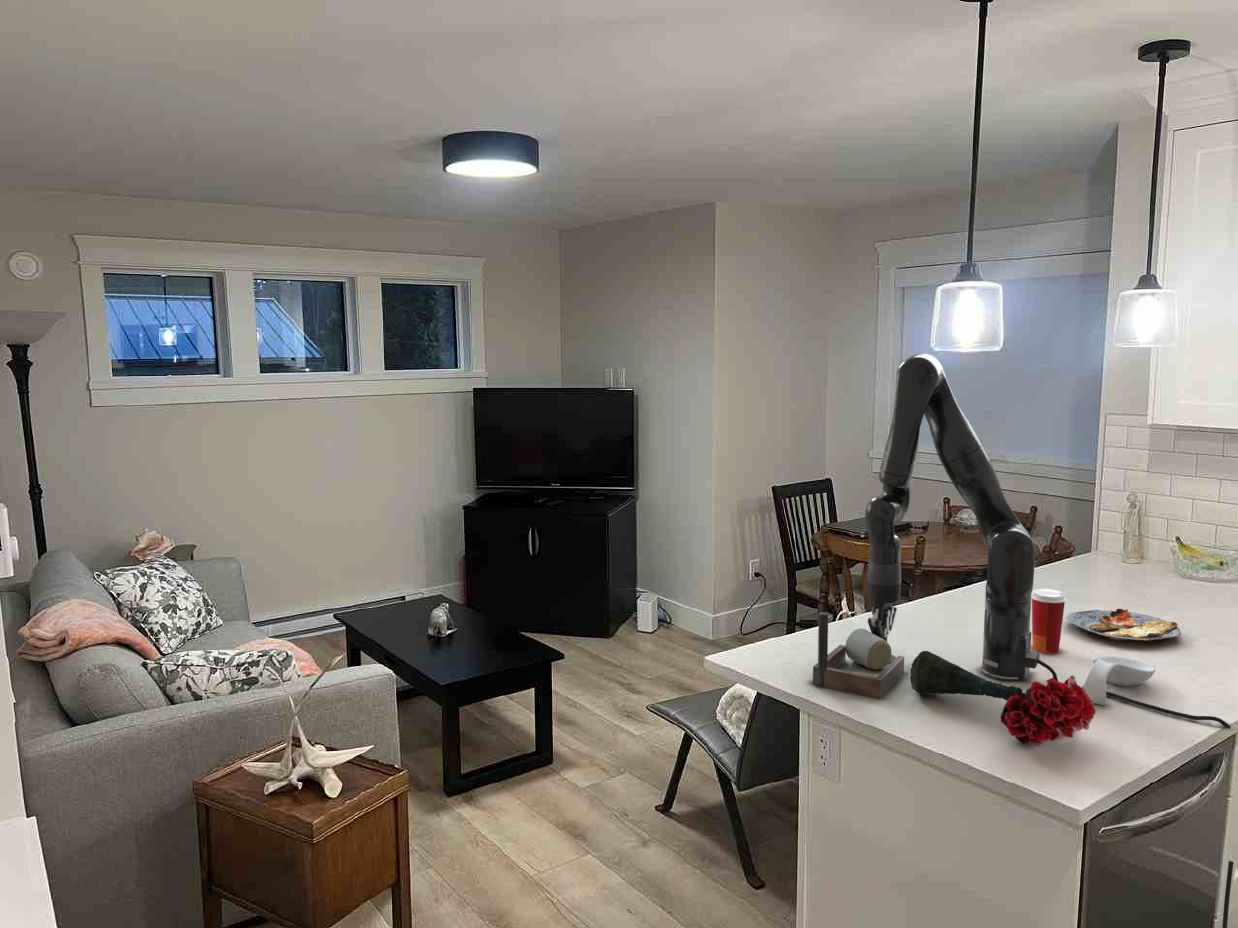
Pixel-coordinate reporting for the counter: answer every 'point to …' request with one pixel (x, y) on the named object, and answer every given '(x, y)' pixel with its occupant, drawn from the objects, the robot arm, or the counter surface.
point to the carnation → (1012, 699)
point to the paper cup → (1047, 620)
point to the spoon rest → (1115, 675)
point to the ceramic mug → (868, 649)
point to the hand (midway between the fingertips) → (881, 650)
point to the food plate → (1124, 625)
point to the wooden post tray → (845, 680)
